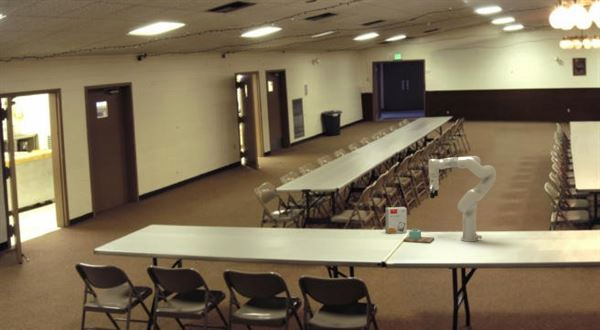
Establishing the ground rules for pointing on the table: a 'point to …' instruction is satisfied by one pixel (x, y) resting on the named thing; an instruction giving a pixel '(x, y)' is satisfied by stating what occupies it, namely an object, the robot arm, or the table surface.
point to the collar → (415, 234)
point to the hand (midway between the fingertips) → (434, 197)
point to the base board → (421, 240)
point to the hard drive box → (396, 220)
